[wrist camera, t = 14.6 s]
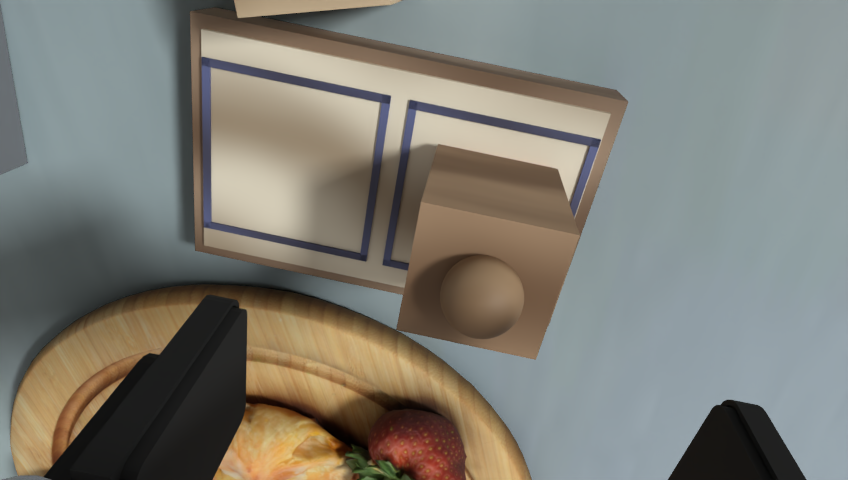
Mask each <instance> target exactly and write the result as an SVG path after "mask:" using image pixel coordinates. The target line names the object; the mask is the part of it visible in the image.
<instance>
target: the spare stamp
mask: <svg viewBox="0 0 848 480" xmlns="http://www.w3.org/2000/svg"><path fill="white" fill-rule="evenodd" d="M400 1H402V0H234V3H235V7H236V12H237V16H238V18H244V17H256V16H267V15H278V14H290V13H301V12H313V11H324V10H336V9H347V8H359V7H370V6H382V5H392V4H395V3H397V2H400Z"/></svg>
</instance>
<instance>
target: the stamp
mask: <svg viewBox="0 0 848 480" xmlns="http://www.w3.org/2000/svg"><path fill="white" fill-rule="evenodd" d="M579 237H580V234H579V231H578V228H577V225H576V222H575V219H574V216H573V213H572V210H571V207H570V204H569V201H568V198H567V195H566V192H565V189H564V186H563V183H562V180H561V177H560V174H559V171H558V169H556V168H551V167H547V166H542V165H538V164H533V163H528V162H523V161H518V160H514V159H509V158H504V157H499V156H494V155H490V154H485V153H480V152H475V151H470V150H466V149H461V148H456V147H451V146H446V145H441V144H438V145H437V149H436V152H435V155H434V159H433V162H432V166H431V169H430V173H429V176H428V180H427V183H426V187H425V190H424V194H423V197H422V201H421V205H420V210H419V215H418V221H417V226H416V231H415V236H414V241H413V246H412V252H411V257H410V262H409V267H408V272H407V277H406V283H405V288H404V293H403V298H402V303H401V308H400V314H399V319H398V324H397V329H396V330H399V331H404V332H409V333H413V334H418V335H423V336H427V337H432V338H437V339H441V340H446V341H451V342H455V343H460V344H465V345H469V346H474V347H479V348H484V349H488V350H493V351H498V352H502V353H507V354H512V355H516V356H521V357H526V358H530V359H535V360H536V357H537V355H538V352H539V349H540V346H541V343H542V341H543V338H544V335H545V332H546V329H547V326H548V324H549V321H550V318H551V315H552V312H553V310H554V307H555V304H556V301H557V298H558V296H559V293H560V290H561V287H562V284H563V282H564V279H565V276H566V273H567V270H568V267H569V265H570V262H571V259H572V256H573V253H574V251H575V248H576V245H577V242H578V239H579Z"/></svg>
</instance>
